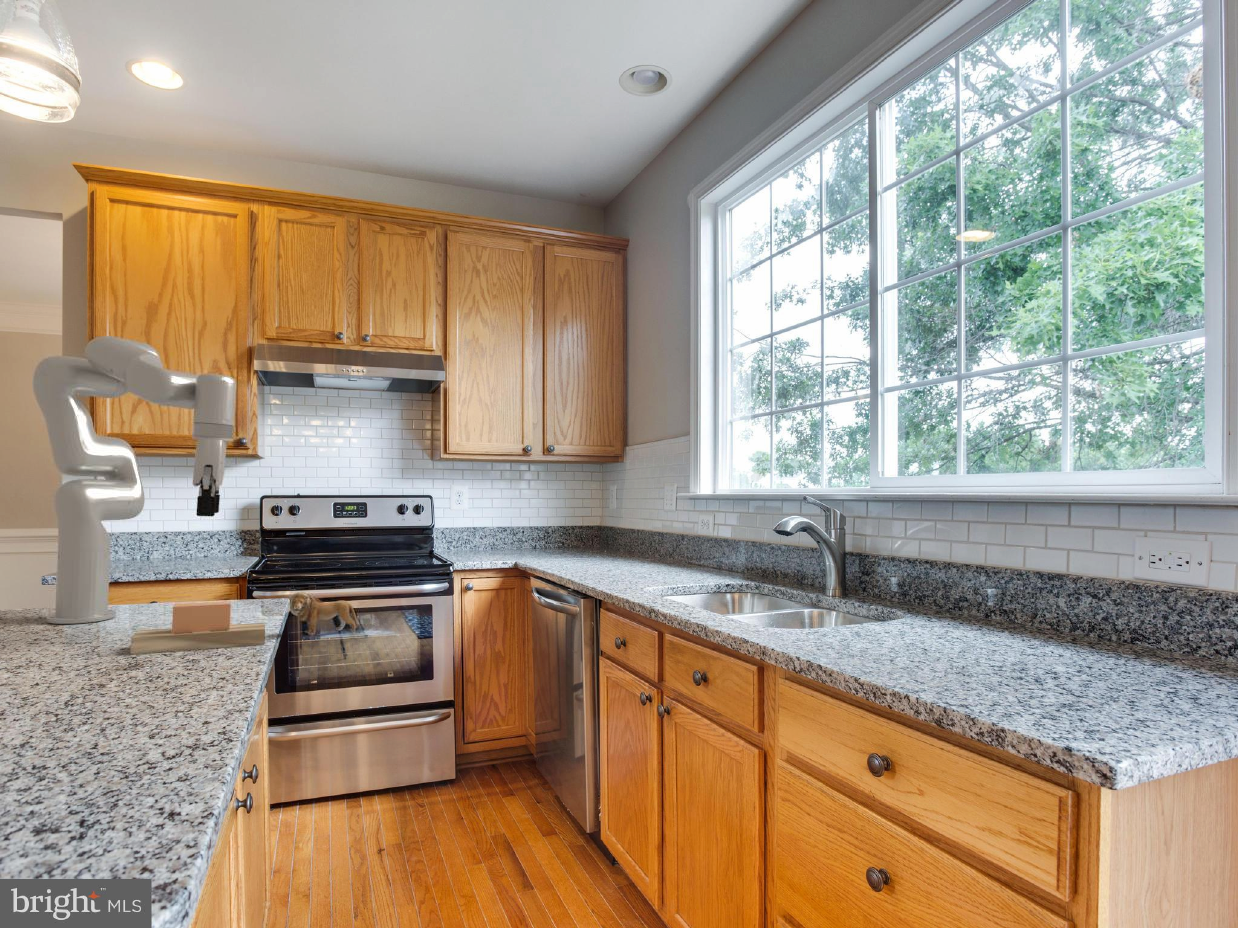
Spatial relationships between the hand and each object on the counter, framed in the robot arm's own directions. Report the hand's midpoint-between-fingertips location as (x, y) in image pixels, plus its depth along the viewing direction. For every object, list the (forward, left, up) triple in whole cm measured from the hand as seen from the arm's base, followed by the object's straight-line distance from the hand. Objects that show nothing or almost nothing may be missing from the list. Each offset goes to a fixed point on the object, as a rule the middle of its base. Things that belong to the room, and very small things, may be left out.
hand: (207, 514), depth 149 cm
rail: (+12, 0, -25) cm, 28 cm away
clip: (+12, 0, -25) cm, 27 cm away
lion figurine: (+8, +23, -25) cm, 35 cm away
